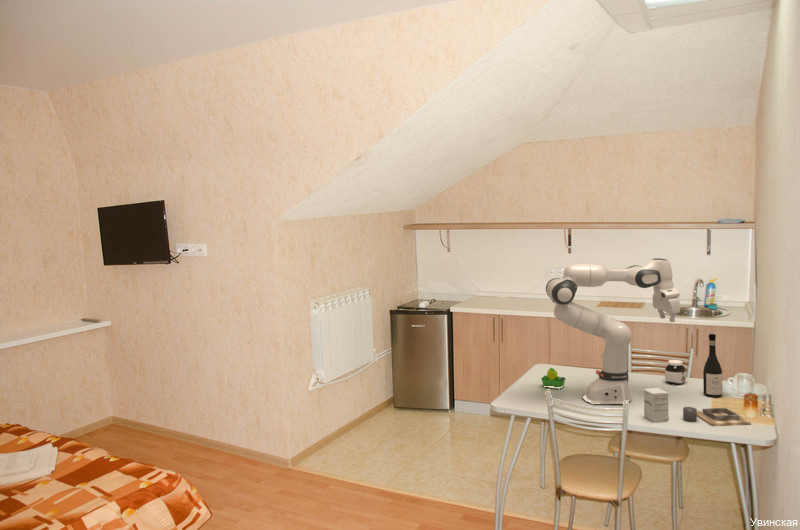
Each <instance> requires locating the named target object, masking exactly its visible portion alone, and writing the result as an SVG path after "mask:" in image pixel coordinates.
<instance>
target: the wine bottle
mask: <svg viewBox="0 0 800 530" xmlns="http://www.w3.org/2000/svg"><path fill="white" fill-rule="evenodd" d="M716 340H717V335H716V334H715V333H709V334H708V348H709V350H708V356H707V359H706V361H705V363H704V367H703V371H702V373H703V375H702V376H703V377H702V378H703V394H704V395H705V396H706V397H708V398H709V397H710V398H721V397H722V396H723V370H722V367H721V364H720V362H719V360H718V357H717V352H716V347H717V346H716Z"/></svg>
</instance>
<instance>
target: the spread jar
mask: <svg viewBox="0 0 800 530" xmlns="http://www.w3.org/2000/svg"><path fill="white" fill-rule="evenodd" d="M664 379H665V382H666V383H668V384H669V383H670V385H672V384H674V385H673V386H681V385H684V384H685V382H686V381H687V370H686V367H685V366H684V365H683V361H682V360H678V359H670V360H668V361H667V365H666V367H665V369H664Z"/></svg>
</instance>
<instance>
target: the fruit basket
mask: <svg viewBox="0 0 800 530" xmlns="http://www.w3.org/2000/svg"><path fill="white" fill-rule="evenodd" d="M540 379H541V382H542V386H543V385H544V386H554V387H561V386H563V385H565V382H566V377H564V376H559V375H558V372H557V370H555V369H554V368H553V367H550V368H549V369H547V373H546V375H544V376H542V377H541V378H540ZM544 386H543V387H544ZM563 387H564V386H563Z"/></svg>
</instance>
